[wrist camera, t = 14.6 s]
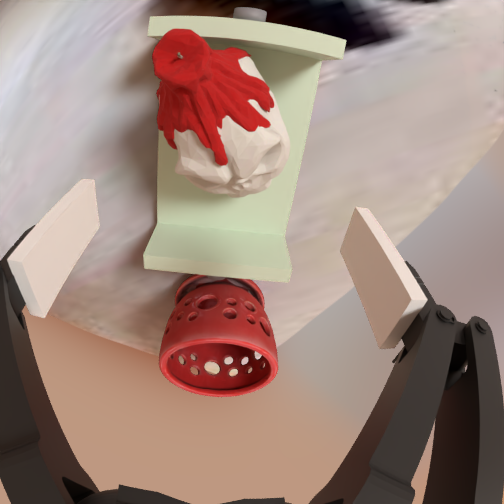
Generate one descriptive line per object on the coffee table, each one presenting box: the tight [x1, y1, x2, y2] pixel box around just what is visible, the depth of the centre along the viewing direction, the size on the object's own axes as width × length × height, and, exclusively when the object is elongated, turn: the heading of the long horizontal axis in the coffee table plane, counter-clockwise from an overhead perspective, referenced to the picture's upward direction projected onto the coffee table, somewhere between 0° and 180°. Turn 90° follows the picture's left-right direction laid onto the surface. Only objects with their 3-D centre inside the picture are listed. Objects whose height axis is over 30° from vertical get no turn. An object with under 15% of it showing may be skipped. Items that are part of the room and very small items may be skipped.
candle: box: [152, 28, 290, 198], centre depth 20 cm, size 9×11×15 cm
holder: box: [143, 7, 346, 283], centre depth 25 cm, size 25×14×7 cm, turn 172°
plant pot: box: [159, 274, 278, 397], centre depth 35 cm, size 13×13×12 cm
